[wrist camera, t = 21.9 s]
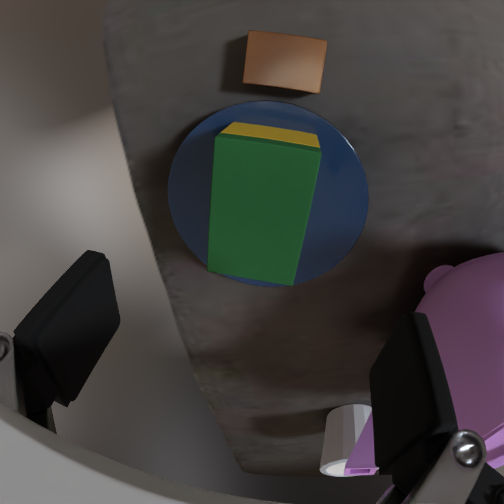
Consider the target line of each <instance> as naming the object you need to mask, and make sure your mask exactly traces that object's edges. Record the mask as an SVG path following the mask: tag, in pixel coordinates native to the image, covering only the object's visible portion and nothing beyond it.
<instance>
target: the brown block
mask: <svg viewBox="0 0 504 504" xmlns="http://www.w3.org/2000/svg"><path fill="white" fill-rule="evenodd" d="M326 49H327V41H326V40H321V39H315V38H309V37H303V36H297V35H290V34H282V33H274V32H264V31H253V30H249V31H248V39H247V47H246V56H245V64H244V73H243V83H245V84H255V85H263V86H271V87H279V88H285V89H292V90H298V91H304V92H310V93H315V94H320V88H321V82H322V75H323V69H324V62H325V55H326Z"/></svg>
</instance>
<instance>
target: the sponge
mask: <svg viewBox="0 0 504 504" xmlns="http://www.w3.org/2000/svg"><path fill="white" fill-rule="evenodd" d="M321 155H322V154H321V150H320V146H319V142H318V138H317V135H316V134H311V133H306V132H300V131H294V130H288V129H282V128H276V127H269V126H262V125H255V124H247V123H239V122H233V123H231V124H230V125H229V126H228V127H226V128H225V129H224V130H223V131H221V132H220V133H219V134H218V135H217V136H215V138H214V149H213V163H212V177H211V193H210V211H209V230H208V253H207V271H210V272H215V273H221V274H226V275H232V276H237V277H243V278H248V279H254V280H260V281H265V282H271V283H277V284H283V285H289V286H292V285H293V283H294V278H295V274H296V270H297V266H298V262H299V257H300V253H301V249H302V244H303V240H304V236H305V231H306V227H307V222H308V218H309V213H310V209H311V204H312V199H313V194H314V190H315V185H316V180H317V175H318V170H319V165H320V160H321Z"/></svg>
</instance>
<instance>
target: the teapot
mask: <svg viewBox="0 0 504 504" xmlns="http://www.w3.org/2000/svg"><path fill="white" fill-rule="evenodd" d="M424 290H425V292H426V294H425V295H424V297H423V298H422V300H421V301H420V303H419V305H418V306H417V308H416V310H415V312H419V313H425V314H426V315H427V318H428V320H429V323H430V326H431V329H432V332H433V335H434V338H435V341H436V344H437V348H438V351H439V354H440V357H441V361H442V364H443V367H444V371H445V375H446V378H447V382H448V386H449V389H450V393H451V397H452V401H453V405H454V410H455V414H456V418H457V423H458V429H459V430H463V429H469V430H473V431H475V432H477V433H478V434H479V435H480V436H481V437H482V439H483V441H484V442H485V445H486V449H487V456H486V460H485V462H486V463H488V464H489V465H490V466H491V467H492V468H494V469H495V468H497V467H500V466H502V465H504V252H501V253H495V254H490V255H486V256H482V257H479V258H475V259H472V260H469V261H467V262H464V263H461V264H459V265H457V266H456V267H453V266H450V265H442V266H439V267H437V268H435V269H433V270H432V271H431V272H430V273H429V274H428V275H427V277H426V279H425V281H424ZM377 468H378V467H376V466H375V458H374V435H373V418H372V410H371V413H370V415H369V417H368V419H367V422H366V424H365V426H364V428H363V430H362V432H361V434H360V436H359V439H358V441H357V443H356V445H355V447H354V449H353V451H352V453H351V454H350V456H349V458H348V460H347V462H346V465H345V469H344V475H374V473H375V472H376V470H377Z"/></svg>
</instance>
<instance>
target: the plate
mask: <svg viewBox="0 0 504 504" xmlns="http://www.w3.org/2000/svg"><path fill="white" fill-rule="evenodd" d="M233 122H239V123H247V124H255V125H262V126H269V127H276V128H282V129H288V130H294V131H300V132H306V133H311V134H316V135H317V138H318V142H319V146H320V150H321V154H322V155H321V160H320V165H319V170H318V175H317V180H316V185H315V190H314V194H313V199H312V204H311V209H310V213H309V218H308V222H307V227H306V231H305V236H304V240H303V244H302V249H301V253H300V257H299V262H298V266H297V270H296V274H295V278H294V283H293V285H295V284H299V283H303V282H306V281H309V280H311V279H314V278H316V277H318V276H320V275H322V274H324V273H325V272H327V271H329V270H330V269H332V268H333V267H334V266H335V265H337V264H338V263H339V262H340V261H341V260H342V259H343V258H344V257H345V256H346V255H347V254H348V253H349V252H350V250H351V249H352V248H353V246H354V245H355V243H356V241H357V240H358V238H359V236H360V234H361V232H362V229H363V226H364V224H365V220H366V216H367V211H368V186H367V181H366V176H365V172H364V170H363V167H362V164H361V162H360V160H359V158H358V156H357V154H356V152H355V151H354V149H353V147H352V146H351V144H350V143H349V142H348V140H347V139H346V138H345V137H344V135H343V134H342V133H341V132H340V131H339V130H338V129H337V128H336V127H335V126H334V125H332V124H331V123H330V122H328V121H327V120H326V119H324V118H323V117H321V116H320V115H318V114H316V113H314V112H312V111H310V110H308V109H306V108H303V107H300V106H298V105H295V104H291V103H286V102H281V101H271V100H260V101H249V102H244V103H239V104H236V105H233V106H230V107H227V108H224V109H222V110H220V111H219V112H217V113H215V114H213V115H211V116H209V117H208V118H206V119H205V120H204V121H202V122H201V123H200V124H198V125H197V126H196V127H195V128H194V129H193V130H192V131H191V132H190V133H189V134H188V136H187V137H186V138H185V140H184V141H183V142H182V144H181V145H180V147H179V149H178V151H177V153H176V154H175V157H174V159H173V162H172V165H171V168H170V173H169V178H168V203H169V208H170V212H171V216H172V219H173V222H174V224H175V226H176V228H177V230H178V232H179V234H180V236H181V238H182V239H183V241H184V242H185V244H186V245H187V246H188V247H189V249H190V250H191V251H192V252H193V253H194V254H195V255H196V256H197V257H198V258H199V259H200V260H201V261H202V262H204V263H205V264H206V265H207V253H208V230H209V211H210V193H211V177H212V163H213V149H214V138H215V136H217V135H218V134H219V133H220V132H221V131H223V130H224V129H225V128H226V127H228V126H229V125H230V124H231V123H233ZM220 274H221V273H220ZM222 275H224V276H226V277H228V278H230V279H233V280H236V281H239V282H242V283H246V284H250V285H256V286H264V287H280V286H289V285H283V284H277V283H271V282H265V281H260V280H254V279H248V278H243V277H237V276H232V275H226V274H222Z"/></svg>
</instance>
